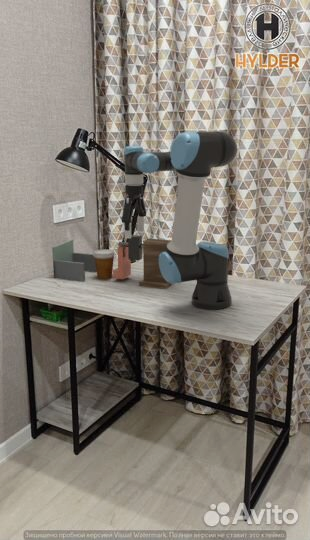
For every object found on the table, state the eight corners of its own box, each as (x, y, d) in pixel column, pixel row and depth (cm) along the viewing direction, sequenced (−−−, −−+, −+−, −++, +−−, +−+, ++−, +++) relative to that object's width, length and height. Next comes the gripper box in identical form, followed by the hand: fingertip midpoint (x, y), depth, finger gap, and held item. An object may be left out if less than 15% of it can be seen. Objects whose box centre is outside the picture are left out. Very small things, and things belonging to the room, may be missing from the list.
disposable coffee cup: (117, 275, 241) (116, 249, 238) (113, 281, 232) (112, 254, 228) (96, 274, 242) (95, 248, 238) (91, 280, 233) (90, 254, 229)
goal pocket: (83, 281, 231) (82, 250, 228) (54, 277, 237) (52, 247, 233) (101, 271, 246) (100, 242, 242) (72, 268, 251) (71, 239, 248)
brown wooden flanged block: (165, 289, 220) (166, 244, 215) (139, 286, 225) (138, 242, 219) (175, 281, 231) (175, 238, 226) (149, 278, 235) (149, 236, 230)
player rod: (179, 285, 220) (179, 242, 215) (113, 278, 231) (111, 236, 226) (185, 280, 227) (186, 238, 222) (120, 273, 238) (119, 232, 233)
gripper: (137, 180, 233) (138, 228, 239) (112, 187, 210) (113, 240, 216) (153, 181, 230) (153, 229, 236) (130, 188, 208) (130, 241, 214)
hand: (134, 234), depth 226 cm, fingers open, 13 cm apart
